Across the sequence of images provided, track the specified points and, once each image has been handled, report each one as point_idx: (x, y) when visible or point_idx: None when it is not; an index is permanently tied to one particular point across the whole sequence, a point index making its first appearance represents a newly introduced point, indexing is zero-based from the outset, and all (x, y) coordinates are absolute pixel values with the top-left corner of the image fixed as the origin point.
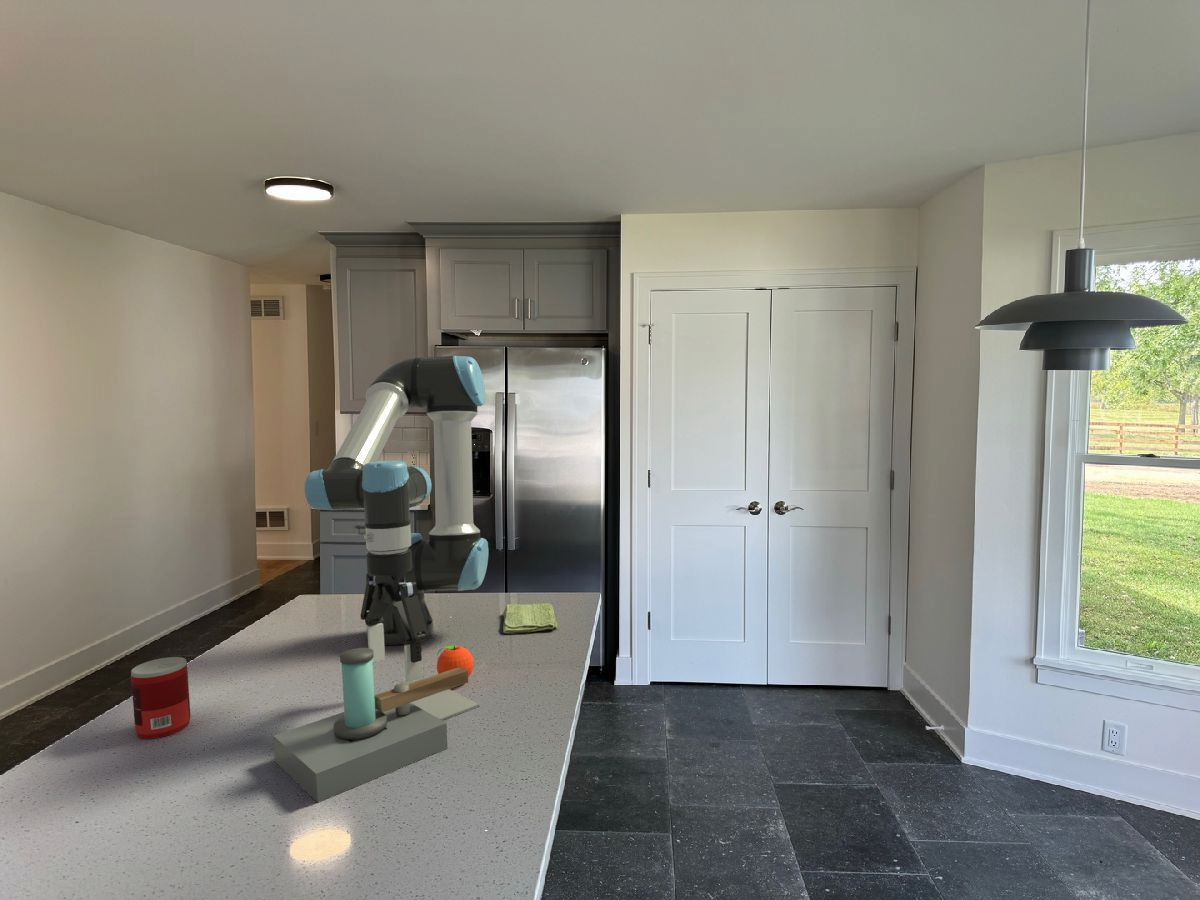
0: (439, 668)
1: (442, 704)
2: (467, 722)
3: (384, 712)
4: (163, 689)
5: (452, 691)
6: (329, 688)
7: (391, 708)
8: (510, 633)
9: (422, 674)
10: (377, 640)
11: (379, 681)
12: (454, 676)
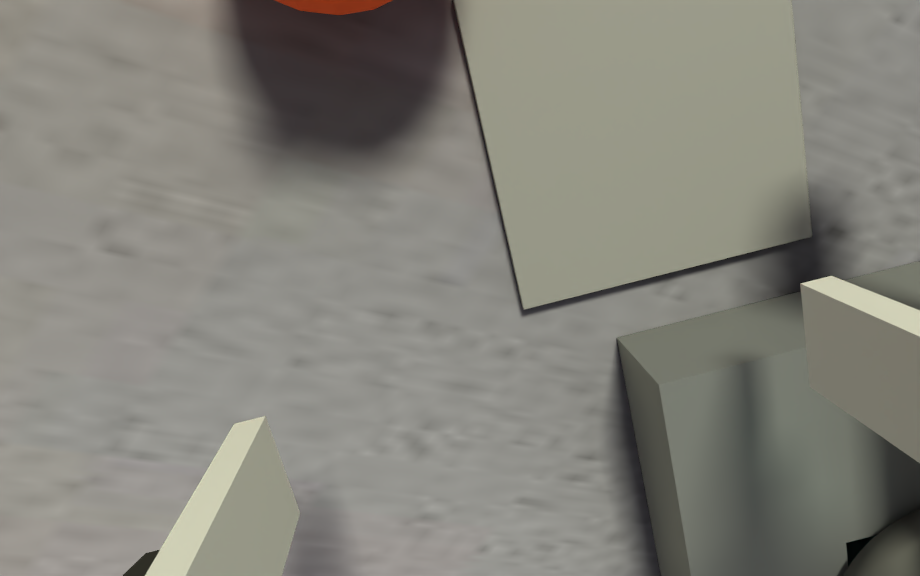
0: (364, 7)
1: (647, 105)
2: (901, 54)
3: (843, 479)
4: None
5: None
6: (55, 549)
7: None
8: None
9: (844, 281)
10: (240, 571)
11: (75, 316)
12: None
